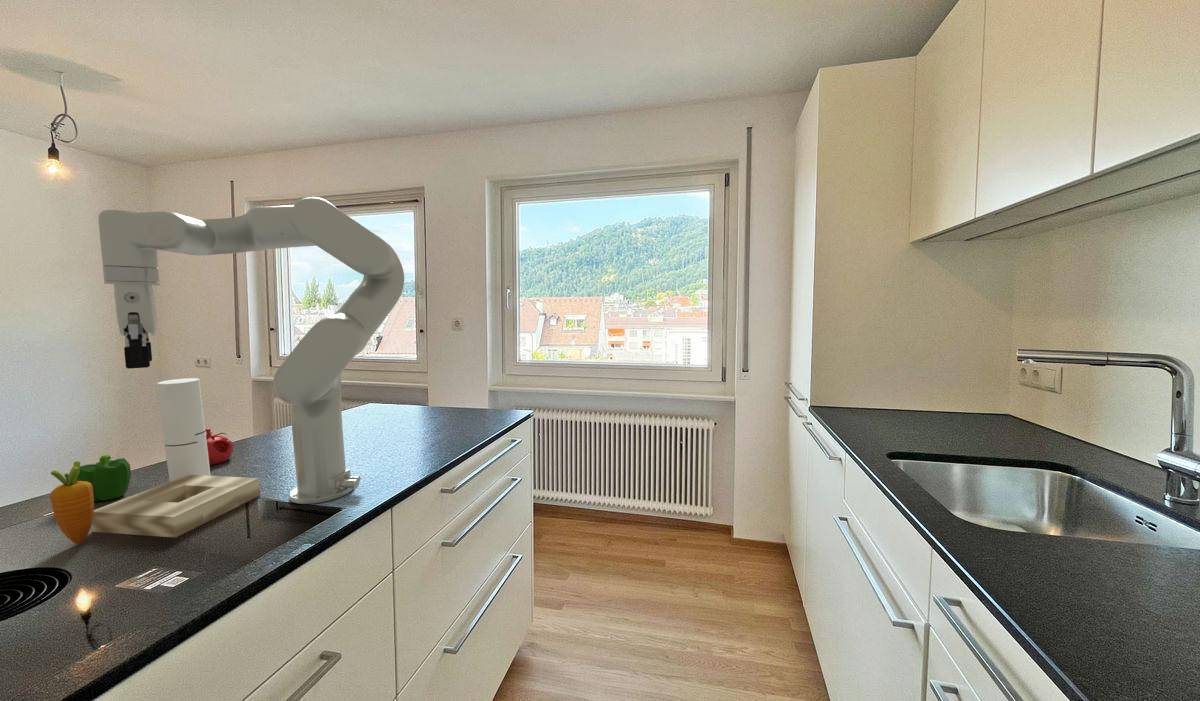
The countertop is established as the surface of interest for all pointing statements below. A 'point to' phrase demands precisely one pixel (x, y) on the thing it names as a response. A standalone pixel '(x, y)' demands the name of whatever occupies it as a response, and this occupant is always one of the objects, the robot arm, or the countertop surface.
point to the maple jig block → (175, 505)
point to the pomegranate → (218, 447)
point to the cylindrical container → (183, 427)
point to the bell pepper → (107, 477)
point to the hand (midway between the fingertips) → (139, 364)
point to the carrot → (73, 504)
